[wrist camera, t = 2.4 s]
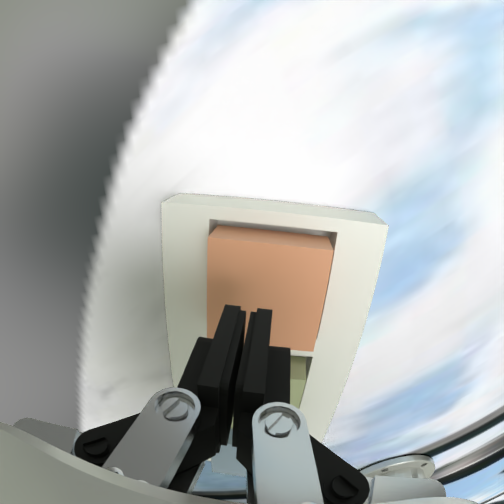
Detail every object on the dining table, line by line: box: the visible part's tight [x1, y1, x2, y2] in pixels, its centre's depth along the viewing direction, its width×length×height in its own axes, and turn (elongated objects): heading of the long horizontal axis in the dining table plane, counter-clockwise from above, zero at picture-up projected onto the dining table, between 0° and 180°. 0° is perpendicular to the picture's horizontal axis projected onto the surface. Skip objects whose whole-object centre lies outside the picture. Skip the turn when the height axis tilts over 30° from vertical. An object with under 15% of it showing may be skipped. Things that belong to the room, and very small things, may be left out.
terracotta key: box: [207, 225, 334, 352], centre depth 16 cm, size 6×6×2 cm
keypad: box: [161, 193, 389, 461], centre depth 21 cm, size 24×12×3 cm, turn 176°
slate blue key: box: [211, 428, 246, 477], centre depth 21 cm, size 6×6×2 cm
